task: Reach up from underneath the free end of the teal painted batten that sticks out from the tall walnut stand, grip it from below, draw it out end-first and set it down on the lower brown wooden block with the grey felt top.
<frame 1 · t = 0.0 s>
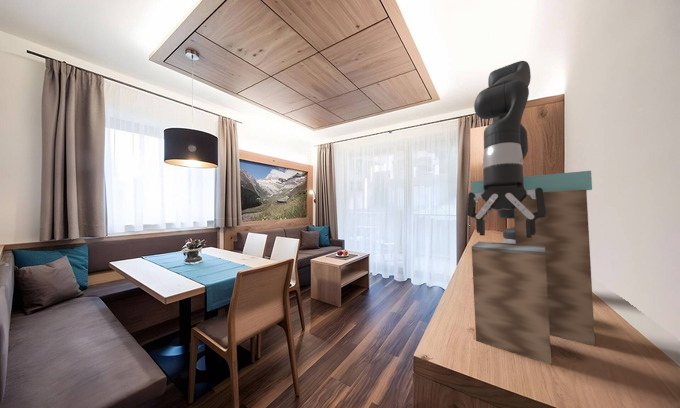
hand: (504, 236, 50), 22 cm above the cabinet, tool pointing down, fingers open, 8 cm apart
brown wooden block: (512, 342, 48), on the cabinet
stand: (553, 328, 52), on the cabinet
batten: (524, 193, 55), point 32 cm above the cabinet, touching stand
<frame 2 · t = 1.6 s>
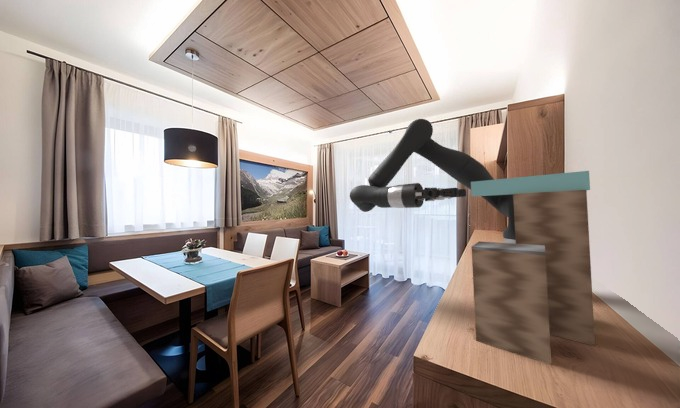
hand: (462, 192, 60), 33 cm above the cabinet, tool horizontal, fingers open, 8 cm apart
nothing on the cabinet moved.
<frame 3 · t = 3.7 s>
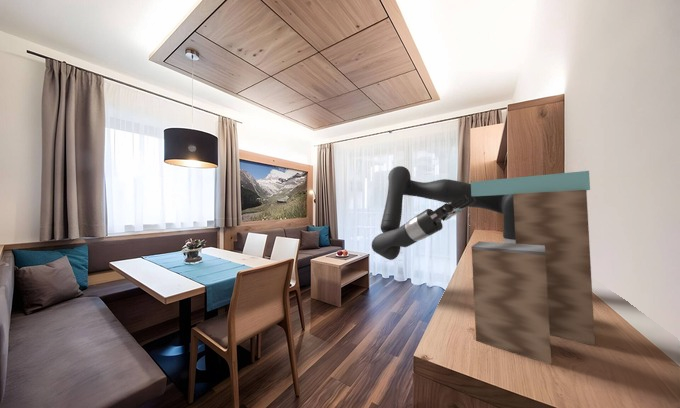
hand: (470, 197, 63), 32 cm above the cabinet, tool pointing upward, fingers open, 8 cm apart
nothing on the cabinet moved.
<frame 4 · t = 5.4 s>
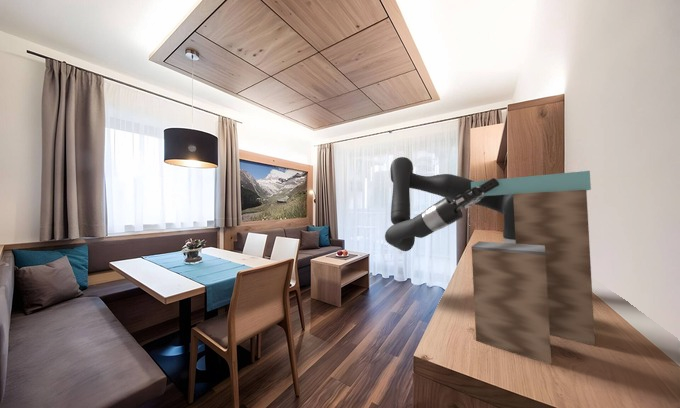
hand: (498, 181, 59), 35 cm above the cabinet, tool pointing upward, fingers open, 4 cm apart
batten: (523, 193, 56), point 32 cm above the cabinet, touching gripper, stand
everything else where it was.
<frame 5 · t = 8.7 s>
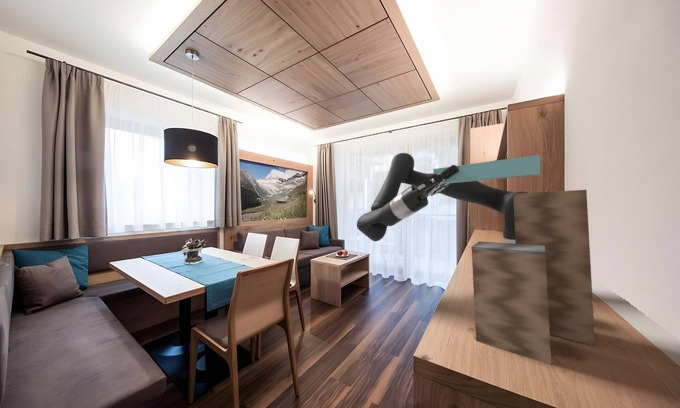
hand: (459, 168, 59), 39 cm above the cabinet, tool pointing upward, fingers closed on batten, 4 cm apart
batten: (481, 179, 56), point 36 cm above the cabinet, touching gripper
everything else where it was.
when the fingers open (26 cm above the cabinet, at t = 11.7 s): batten drops 2 cm, resting on brown wooden block.
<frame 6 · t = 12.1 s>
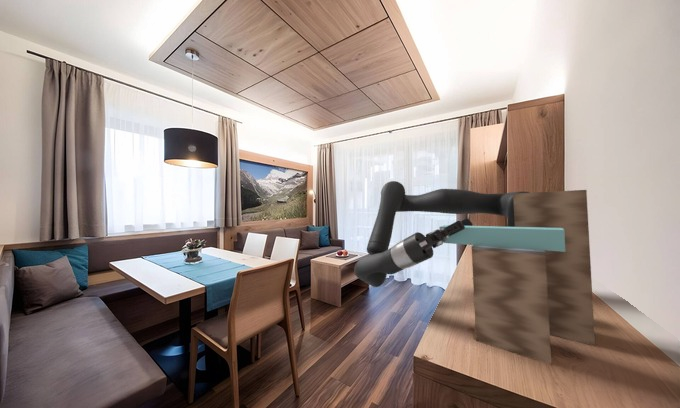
hand: (466, 222, 53), 25 cm above the cabinet, tool pointing upward, fingers open, 7 cm apart
batten: (494, 245, 50), point 21 cm above the cabinet, touching brown wooden block
everything else where it was.
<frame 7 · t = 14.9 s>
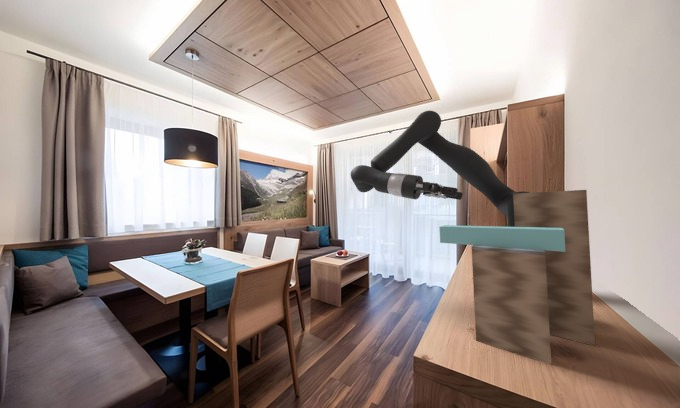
hand: (459, 194, 63), 33 cm above the cabinet, tool horizontal, fingers open, 8 cm apart
nothing on the cabinet moved.
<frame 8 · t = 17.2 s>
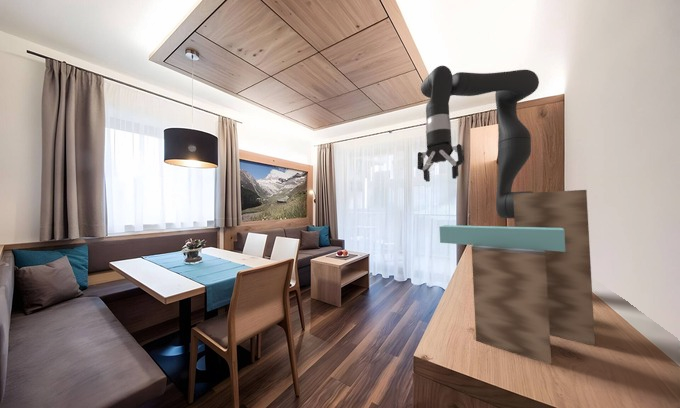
hand: (440, 180, 74), 38 cm above the cabinet, tool pointing down, fingers open, 8 cm apart
nothing on the cabinet moved.
at the end: batten inside the target area on the brown wooden block (0.4 cm from its centre), point 20.6 cm above the brown wooden block's base; the gripper is holding nothing; batten touching brown wooden block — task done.
